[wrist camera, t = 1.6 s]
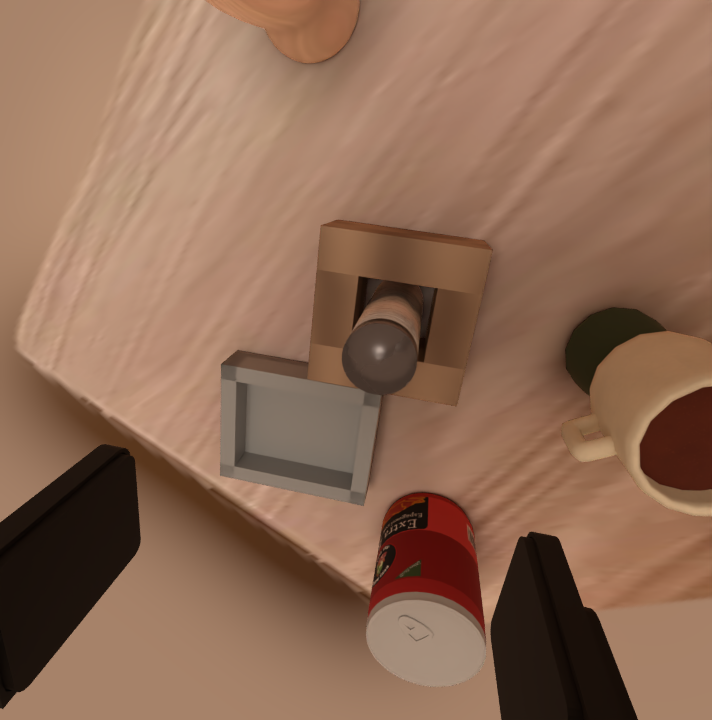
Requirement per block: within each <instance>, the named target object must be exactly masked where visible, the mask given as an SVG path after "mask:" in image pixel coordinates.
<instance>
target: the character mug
mask: <svg viewBox="0 0 712 720" xmlns="http://www.w3.org/2000/svg"><path fill="white" fill-rule="evenodd" d="M566 369H567V370H568V372H569V374H570V375H571V377H572V378H573V380H574V382H575V383H576V384H577V385H578V386H579V387H580V388H581V389H582V390H583V391H584V392H585V393H586V394H588V395H589V396H590V405H591V415H587V416H583V417H580V418H576V419H573V420H569V421H567V422H565V423H563V424H562V427H561V435H562V437H563V439H564V441H565V443H566V445H567V447H568V449H569V451H570V453H571V455H573V456H574V457H575V458H576V459H577V460H578V461H580V462H590V461H594V460H598V459H602V458H606V457H610V456H614V455H616V456H617V457H618V458H619V460H620V461H621V462H622V464H623V465H624V467H625V468H626V469H627V471H628V472H629V474H630V475H631V477H632V478H633V480H634V482H635V483H636V485H637V486H638V487H639V488H640V489H641V490H642V491H643V492H644V493H645V494H647V495H648V496H650V497H651V498H652V499H654V500H655V501H657V502H658V503H660V504H661V505H663V506H664V507H666V508H668V509H671V510H675V511H678V512H682V513H685V514H689V515H692V516H712V343H710V342H708V341H706V340H705V339H703V338H698V337H693V336H689V335H684V334H680V333H675V332H671V331H667V330H666V329H665V328H664V327H663V326H661V325H660V324H659V323H658V322H657V321H656V320H654V319H652V318H651V317H649V316H647V315H645V314H644V313H642V312H640V311H638V310H635V309H624V308H611V309H608V310H605V311H602V312H599V313H596V314H593V315H590V316H589V317H588V318H587V319H586V320H585V321H584V322H583V323H582V324H580V325H579V326H578V327H577V328H576V329H575V330H574V331H573V334H572V336H571V338H570V341H569V343H568V345H567V347H566ZM598 431H601V432H602V434H603V436H604V437H601V438H597V439H594V440H590V441H586V440H585V438H584V437H583V435H587V434H591V433H594V432H598Z"/></svg>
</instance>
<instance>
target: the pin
mask: <svg viewBox="0 0 712 720" xmlns="http://www.w3.org/2000/svg"><path fill="white" fill-rule="evenodd" d="M422 311H423V295H422V292H421V289H420V288H419V286H418V285H414V284H407V283H401V282H394V281H388V280H384V281H383V282H382V283H381V284H380V285H379V286H378V287H377V289H376V290H375V292H374V294H373V296H372V297H371V299H370V301H369V303H368V304H367V306H366V308H365V310H364V311H363V313H362V315H361V317H360V318H359V320H358V322H357V323H356V325H355V327H354V329H353V330H352V332H351V334H350V336H349V337H348V339H347V341H346V343H345V345H344V347H343V351H342V365H343V369H344V372H345V374H346V376H347V377H348V379H349V380H350V381H351V382H352V383H353V384H354V385H355V386H356V387H358V388H359V389H361V390H362V391H364V392H367V393H370V394H375V395H387V394H392V393H395V392H397V391H399V390H401V389H402V388H404V387H405V386H406V385H407V384H408V383H409V382H410V381H411V379H412V378H413V376H414V374H415V371H416V367H417V359H418V349H419V339H420V330H421V320H422Z"/></svg>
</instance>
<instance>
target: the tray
mask: <svg viewBox="0 0 712 720" xmlns="http://www.w3.org/2000/svg"><path fill="white" fill-rule="evenodd" d="M307 375H308V363H306V362H300V361H295V360H289V359H283V358H278V357H272V356H267V355H261V354H255V353H250V352H244V351H238V350H237V351H236V352H235V353H234V354H233V355H231V356H230V357H229V358H228V359H227V360H225V361H224V362H223V363H222V364H221V439H220V476H224V477H229V478H234V479H238V480H243V481H248V482H253V483H257V484H262V485H267V486H272V487H276V488H281V489H286V490H291V491H295V492H300V493H305V494H310V495H314V496H319V497H324V498H329V499H333V500H338V501H343V502H348V503H352V504H357V505H362V506H364V503H365V498H366V494H367V489H368V485H369V479H370V473H371V467H372V461H373V455H374V448H375V442H376V436H377V430H378V423H379V417H380V411H381V405H382V399H383V395H375V394H370V393H367V392H364V391H362V390H361V389H358V388H353V387H347V386H342V385H336V384H331V383H325V382H320V381H314V380H309V379H307Z"/></svg>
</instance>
